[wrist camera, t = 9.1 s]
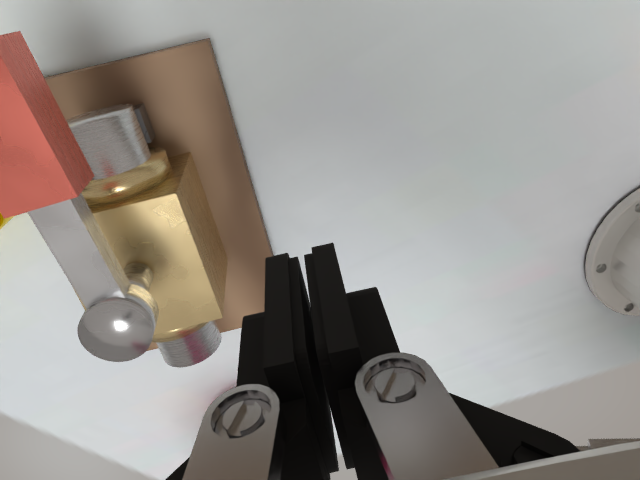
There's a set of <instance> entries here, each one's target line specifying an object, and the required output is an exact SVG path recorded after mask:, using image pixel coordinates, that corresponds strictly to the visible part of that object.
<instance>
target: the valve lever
mask: <svg viewBox="0 0 640 480" xmlns="http://www.w3.org/2000/svg"><path fill="white" fill-rule="evenodd" d="M93 177H94V174H93V172H92V170H91V168H90V166H89V164H88V162H87V160H86V158H85V156H84V154H83V152H82V150H81V149H80V147H79V145H78V143H77V141H76V139H75V137H74V135H73V133H72V131H71V129H70V127H69V125H68V123H67V121H66V119H65V118H64V116H63V114H62V112H61V110H60V108H59V106H58V104H57V102H56V100H55V98H54V96H53V94H52V92H51V90H50V88H49V86H48V85H47V83H46V81H45V79H44V77H43V75H42V73H41V71H40V69H39V67H38V65H37V63H36V61H35V59H34V57H33V55H32V54H31V52H30V50H29V48H28V46H27V44H26V42H25V40H24V38H23V36H22V34H21V32H20V31H18V32H13V33H9V34H4V35H0V213H1V214H2V216H3V218H4V219H5V218H9V217H12V216H15V215H19V214H22V213H25V212H28V214H29V216H30V217H31V219H32V220H33V222H34V224H35V225H36V227H37V229H38V230H39V232H40V234H41V235H42V237H43V239H44V240H45V242H46V243H47V245H48V247H49V248H50V250H51V252H52V253H53V255H54V257H55V258H56V260H57V262H58V263H59V265H60V266H61V268H62V270H63V271H64V273H65V275H66V276H67V278H68V280H69V281H70V283H71V285H72V286H73V288H74V289H75V291H76V293H77V294H78V296H79V298H80V299H81V301H82V303H83V304H84V306H85V308H86V310H85V312H84V314H83V316H82V318H81V320H80V322H79V325H78V337H79V340H80V342H81V344H82V345H83V346H84V348H85V349H86V350H87V351H89V352H90V353H91V354H93V355H94V356H96V357H98V358H101V359H104V360H107V361H114V362H123V361H129V360H132V359H135V358H137V357H139V356H141V355H142V354H143V353H144V352H146V350H147V349H148V348H149V346H150V344H151V342H152V338H153V334H154V331H155V327H156V324H157V320H158V316H159V309H158V305H157V303H156V301H155V299H154V298H153V296H152V295H151V294H150V293H149V292H147V291H146V290H145V289H143V288H141V287H139V286H137V285H134V284H130V282H129V280H128V278H127V276H126V275H125V273H124V271H123V269H122V267H121V265H120V263H119V262H118V260H117V258H116V256H115V254H114V252H113V250H112V249H111V247H110V245H109V243H108V241H107V239H106V237H105V236H104V234H103V232H102V230H101V228H100V226H99V225H98V223H97V221H96V219H95V217H94V215H93V213H92V212H91V210H90V208H89V206H88V204H87V202H86V200H85V199H84V197H83V195H82V193H81V192H82V191H83V190H84V188H85V187H86V186H87V185H88V184H89V182H90V181H91V180H92V179H93Z"/></svg>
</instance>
